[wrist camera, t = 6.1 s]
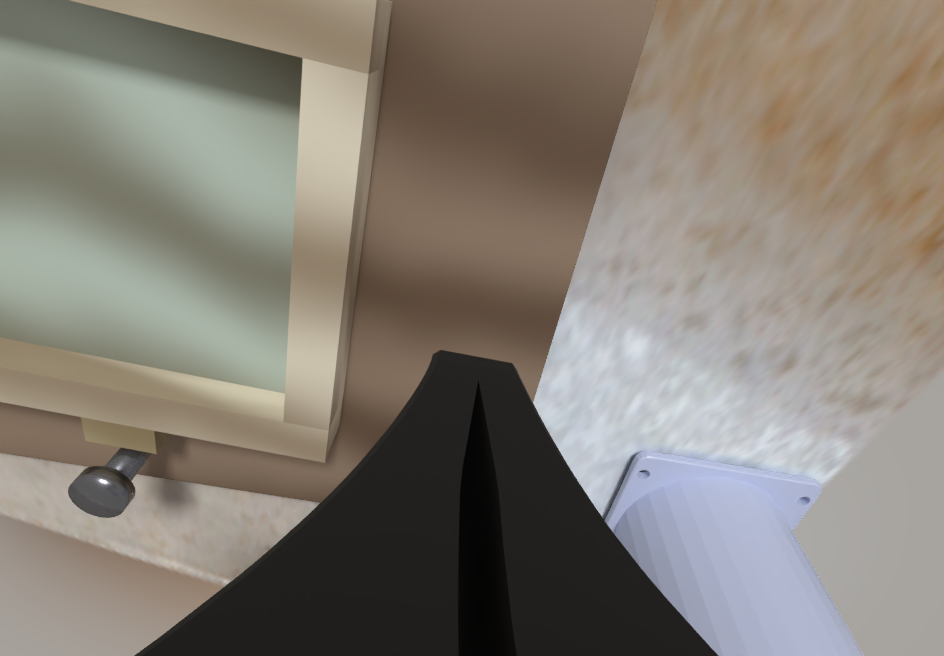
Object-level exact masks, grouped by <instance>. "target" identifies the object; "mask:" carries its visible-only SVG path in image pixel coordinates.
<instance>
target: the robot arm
mask: <svg viewBox="0 0 944 656" xmlns="http://www.w3.org/2000/svg"><path fill="white" fill-rule="evenodd" d="M642 470H646V471H644V472H639V471H642ZM821 491H822V489H821V486H820V485H819V484H818V482H817V481H816V480H815V479H812V478H807V477H801V476H795V475H789V474H783V473H777V472H771V471H765V470H759V469H753V468H747V467H741V466H735V465H729V464H723V463H717V462H712V461H706V460H700V459H694V458H688V457H682V456H676V455H670V454H664V453H658V452H652V451H643V452H640V453H639V454H637V455H636V456H635V457H634V459H633V461H632V463H631V466H630V468H629V470H628V472H627V474H626V476H625V478H624V481H623V483H622V485H621V487H620V489H619V491H618V493H617V496H616V498H615V500H614V502H613V504H612V506H611V508H610V511H609V513H608V515H607V517H606V519H605V521H604V519H603V518H602V516H601V515H600V513H599V512H598V511H597V509H596V508H595V506H594V505H593V503H592V502H591V500H590V499H589V497H588V496H587V494H586V493H585V491H584V490H583V488H582V487H581V485H580V484H579V482H578V481H577V479H576V478H575V476H574V474H573V473H572V471H571V470H570V468H569V466H568V465H567V463H566V462H565V460H564V458H563V456H562V455H561V453H560V451H559V450H558V448H557V446H556V444H555V443H554V441H553V439H552V438H551V436H550V434H549V432H548V431H547V429H546V427H545V425H544V423H543V421H542V420H541V418H540V416H539V414H538V412H537V410H536V408H535V406H534V404H533V402H532V400H531V398H530V396H529V394H528V392H527V390H526V388H525V386H524V384H523V382H522V380H521V378H520V376H519V374H518V371H517V369H516V368H515V366H514V365H513V363H509V362H504V361H499V360H493V359H488V358H482V357H476V356H472V355H466V354H461V353H456V352H450V351H445V350H439V351H438V352H436V353H434V354H433V355H432V359H431V362H430V364H429V367H428V369H427V371H426V373H425V375H424V377H423V378H422V380H421V382H420V383H419V385H418V387H417V388H416V390H415V392H414V393H413V395H412V396H411V398H410V399H409V400H408V402H407V403H406V405H405V406H404V407H403V409H402V410H401V412H400V413H399V414H398V416H397V417H396V419H395V420H394V422H393V423H392V424H391V425H390V427H389V428H388V429H387V431H386V432H385V433H384V434H383V435H382V436H381V438H380V439H379V440H378V441H377V442H376V444H375V445H374V446H373V447H372V448H371V450H370V451H369V452H368V453H367V454H366V456H365V457H364V458H363V459H362V460H361V461H360V463H359V464H358V465H357V466H356V467H355V468H354V469H353V470H352V471H351V472H350V473H349V475H348V476H347V477H346V478H345V479H344V480H343V481H342V482H341V483H340V484H339V485H338V486H337V487H336V488H335V489H334V490H333V491H332V492H331V493H330V494H329V495H328V496H327V497H326V498H325V499H324V500H323V501H322V502H321V503H320V504H319V505H318V506H317V507H316V508H315V509H314V510H313V511H312V512H311V513H310V514H309V515H308V516H307V517H305V518H304V519H303V520H302V521H301V522H300V523H299V524H298V525H297V526H296V527H294V528H293V529H292V530H291V531H290V532H289V533H288V534H287V535H286V536H284V537H283V538H282V539H281V540H280V541H279V542H278V543H277V544H276V545H275V546H273V547H272V548H271V549H270V550H269V551H268V552H267V553H265V554H264V555H263V556H262V557H261V558H260V559H258V560H257V561H256V562H255V563H254V564H252V565H251V566H250V567H249V568H248V569H246V570H245V571H244V572H243V573H242V574H240V575H239V576H238V577H237V578H235V579H234V580H233V581H231V582H230V583H229V584H228V585H226V586H225V587H224V588H222V589H221V590H220V591H219V592H217V593H216V594H215V595H213V597H211V598H210V599H208V600H207V601H206V602H204V603H203V604H202V605H201V606H199V607H198V608H197V609H195V610H194V611H193V612H192V613H190V614H189V615H188V616H187V617H185V618H184V619H183V620H181V621H180V622H179V623H178V624H176V625H175V626H174V627H172V628H171V629H170V630H169V631H167V632H166V633H165V634H164V635H162V636H161V637H159V638H158V639H157V640H155V641H154V642H153V643H151V644H150V645H148V646H147V647H146V648H144V649H143V650H142V651H140V652H139V653H137V654H136V655H135V656H864V655H863V653H862V651H861V649H860V648H859V646H858V644H857V643H856V641H855V639H854V637H853V636H852V634H851V632H850V630H849V629H848V627H847V625H846V623H845V622H844V620H843V618H842V617H841V615H840V613H839V611H838V610H837V608H836V606H835V605H834V603H833V601H832V599H831V597H830V596H829V594H828V592H827V591H826V589H825V587H824V585H823V584H822V582H821V580H820V578H819V577H818V575H817V573H816V571H815V570H814V568H813V566H812V565H811V563H810V561H809V560H808V558H807V556H806V554H805V552H804V551H803V549H802V548H801V546H800V544H799V542H798V541H797V539H796V537H795V535H794V533H793V532H792V531H793V530H794V528H795V527H796V526H797V524H798V523H799V522H800V520H801V519H802V517H803V516H804V515H805V514H806V512H807V511H808V510H809V508H810V507H811V506H812V504H813V503H814V502H815V500H816V499H817V498H818V496H819V495H820V493H821Z"/></svg>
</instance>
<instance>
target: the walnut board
mask: <svg viewBox="0 0 944 656" xmlns="http://www.w3.org/2000/svg"><path fill="white" fill-rule="evenodd" d="M389 1H392V9H391V18H390V26H389V34H388V42H387V50H386V58H385V66H384V74H383V82H382V90H381V98H380V106H379V114H378V122H377V130H376V138H375V146H374V154H373V162H372V170H371V178H370V186H369V194H368V202H367V210H366V218H365V226H364V234H363V242H362V250H361V258H360V266H359V274H358V282H357V290H356V298H355V306H354V314H353V322H352V330H351V338H350V346H349V354H348V362H347V370H346V378H345V386H344V394H343V402H342V410H341V418H340V425H339V428H338V430H337V433H336V436H335V438H334V441H333V443H332V446H331V449H330V451H329V454H328V456H327V459H326V462H325V463H323V462H318V461H312V460H307V459H302V458H296V457H291V456H286V455H280V454H275V453H270V452H264V451H259V450H254V449H248V448H243V447H238V446H232V445H227V444H222V443H217V442H211V441H206V440H201V439H195V438H190V437H185V436H179V435H174V434H169V433H168V435H169V439H168V440H167V441H166V443H165V444H164V445H163V447H162V448H161V449H160V450H159V452H158V453H157V454H152V455H151V456H150V458H149V459H148V460H147V461H146V463H145V464H144V465H143V467H142V468H141V469H140V470H139V472H138V473H137V474H140V475H147V476H153V477H159V478H166V479H172V480H179V481H185V482H191V483H198V484H204V485H211V486H217V487H223V488H230V489H236V490H243V491H249V492H256V493H262V494H268V495H275V496H281V497H288V498H294V499H300V500H307V501H313V502H320V503H321V502H322V501H323V500H324V499H325V498H326V497H327V496H328V495H329V494H330V493H331V492H332V491H333V490H334V489H335V488H336V487H337V486H338V485H339V484H340V483H341V482H342V481H343V480H344V479H345V478H346V477H347V476H348V475H349V473H350V472H351V471H352V470H353V469H354V468H355V467H356V466H357V465H358V464H359V463H360V461H361V460H362V459H363V458H364V457H365V456H366V454H367V453H368V452H369V451H370V450H371V448H372V447H373V446H374V445H375V444H376V442H377V441H378V440H379V439H380V438H381V436H382V435H383V434H384V433H385V432H386V431H387V429H388V428H389V427H390V425H391V424H392V423H393V422H394V420H395V419H396V417H397V416H398V414H399V413H400V412H401V410H402V409H403V407H404V406H405V405H406V403H407V402H408V400H409V399H410V398H411V396H412V395H413V393H414V392H415V390H416V388H417V387H418V385H419V383H420V382H421V380H422V378H423V377H424V375H425V373H426V371H427V369H428V367H429V364H430V362H431V359H432V355H433V354H434V353H436V352H438V351H439V350H445V351H450V352H456V353H461V354H466V355H472V356H476V357H482V358H488V359H493V360H499V361H504V362H509V363H513V365H514V366H515V368H516V369H517V371H518V374H519V376H520V378H521V380H522V382H523V384H524V386H525V388H526V390H527V392H528V394H529V396H530V398H531V400H532V402H533V401H534V397H535V394H536V391H537V388H538V384H539V381H540V378H541V375H542V372H543V368H544V365H545V362H546V359H547V355H548V352H549V349H550V346H551V342H552V339H553V336H554V333H555V330H556V326H557V323H558V320H559V317H560V313H561V310H562V307H563V304H564V301H565V297H566V294H567V291H568V288H569V284H570V281H571V278H572V275H573V271H574V268H575V265H576V262H577V259H578V255H579V252H580V249H581V246H582V242H583V239H584V236H585V233H586V229H587V226H588V223H589V220H590V217H591V213H592V210H593V207H594V204H595V200H596V197H597V194H598V191H599V188H600V184H601V181H602V178H603V175H604V171H605V168H606V165H607V162H608V158H609V155H610V152H611V149H612V146H613V142H614V139H615V136H616V133H617V129H618V126H619V123H620V120H621V116H622V113H623V110H624V107H625V104H626V100H627V97H628V94H629V91H630V87H631V84H632V81H633V78H634V75H635V71H636V68H637V65H638V62H639V58H640V55H641V52H642V49H643V45H644V42H645V39H646V36H647V33H648V29H649V26H650V23H651V20H652V16H653V13H654V10H655V7H656V3H657V0H389ZM119 449H120V447H115V446H110V445H105V444H99V443H94V442H88V441H85V436H84V431H83V426H82V421H81V417H78V416H73V415H67V414H62V413H57V412H52V411H46V410H41V409H36V408H30V407H25V406H20V405H14V404H9V403H4V402H0V453H6V454H12V455H18V456H25V457H31V458H38V459H44V460H50V461H57V462H63V463H70V464H76V465H82V466H89V467H92V466H105V465H106V463H107V462H108V461H109V460H110V459H111V458H112V457H113V455H114V454H115V453H116V452H117V451H118V450H119Z"/></svg>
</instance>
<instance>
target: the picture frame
mask: <svg viewBox="0 0 944 656" xmlns="http://www.w3.org/2000/svg"><path fill="white" fill-rule="evenodd" d="M391 9H392V1H389V0H0V402H4V403H9V404H14V405H20V406H25V407H30V408H36V409H41V410H46V411H52V412H57V413H62V414H67V415H73V416H78V417H81V421H82V426H83V431H84V436H85V441H88V442H94V443H99V444H105V445H110V446H115V447H121V448H126V449H132V450H137V451H142V452H148V453H153V454H157V453H158V452H159V450H160V449H161V448H162V447H163V445H164V444H165V443H166V441H167V440H168V439H169V435H168V433H169V434H174V435H179V436H185V437H190V438H195V439H201V440H206V441H211V442H217V443H222V444H227V445H232V446H238V447H243V448H248V449H254V450H259V451H264V452H270V453H275V454H280V455H286V456H291V457H296V458H302V459H307V460H312V461H318V462H323V463H325V462H326V459H327V456H328V454H329V451H330V449H331V446H332V443H333V441H334V438H335V436H336V433H337V430H338V428H339V425H340V418H341V410H342V402H343V394H344V386H345V378H346V370H347V362H348V354H349V346H350V338H351V330H352V322H353V314H354V306H355V298H356V290H357V282H358V274H359V266H360V258H361V250H362V242H363V234H364V226H365V218H366V210H367V202H368V194H369V186H370V178H371V170H372V162H373V154H374V146H375V138H376V130H377V122H378V114H379V106H380V98H381V90H382V82H383V74H384V66H385V58H386V50H387V42H388V34H389V26H390V18H391Z"/></svg>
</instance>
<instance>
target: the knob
mask: <svg viewBox="0 0 944 656" xmlns="http://www.w3.org/2000/svg"><path fill="white" fill-rule="evenodd" d="M152 454H153V453H148V452H142V451H137V450H132V449H126V448H121V447H120V449H119V450H118V451H117V452H116V453H115V454H114V455H113V457H112V458H111V459H110V460H109V461H108V462H107V463H106V465H105V466H92V467H88V468H86V469H85V470H84V471H83V472H82V473H81V474H80V475H79V476H78V477H77V478H76V479H75V480H74V482H73V483H72V484H71V485H70V486H69V489H68V494H69V497H70V499H71V500H72V502H73V503H74V504H75V505H76V506H77V507H79V508H80V509H81V510H83V511H85V512H87V513H89V514H91V515H94V516H98V517H105V518H110V517H115V516H118V515H120V514H121V513H122V512H123V511H124V510H125V508H126V507H127V506H128V504H129V503H130V502H131V500H132V499H133V498H134V496H135V487H134V485H133V483H132V482H131V481H132V479H133V478H134V477H135V475H136V474H137V473H138V472H139V470H140V469H141V468H142V467H143V465H144V464H145V463H146V461H147V460H148V459H149V458H150V456H151V455H152Z"/></svg>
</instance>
